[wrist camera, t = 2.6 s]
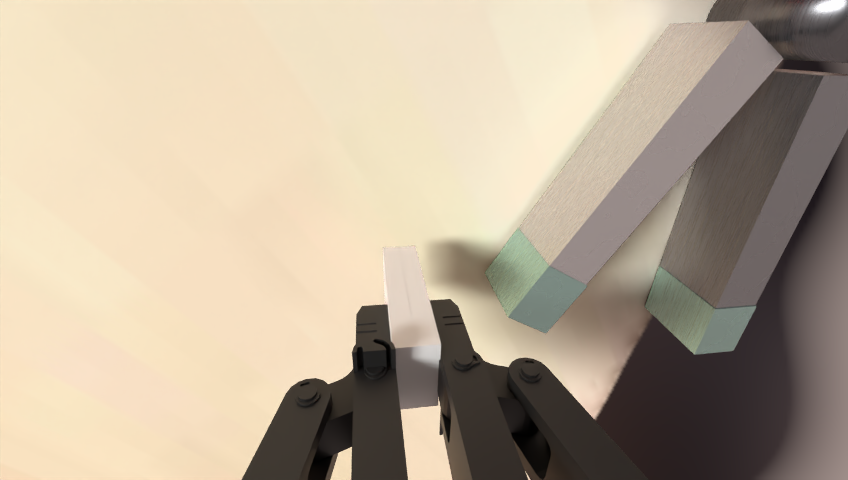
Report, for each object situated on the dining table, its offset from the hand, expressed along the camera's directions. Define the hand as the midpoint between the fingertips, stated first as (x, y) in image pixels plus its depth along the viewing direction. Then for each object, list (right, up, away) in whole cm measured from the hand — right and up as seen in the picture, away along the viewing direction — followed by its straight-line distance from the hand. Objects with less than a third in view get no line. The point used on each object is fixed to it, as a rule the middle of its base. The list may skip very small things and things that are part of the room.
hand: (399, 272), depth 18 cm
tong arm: (+9, +5, +2) cm, 11 cm away
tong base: (+16, +5, +3) cm, 17 cm away
